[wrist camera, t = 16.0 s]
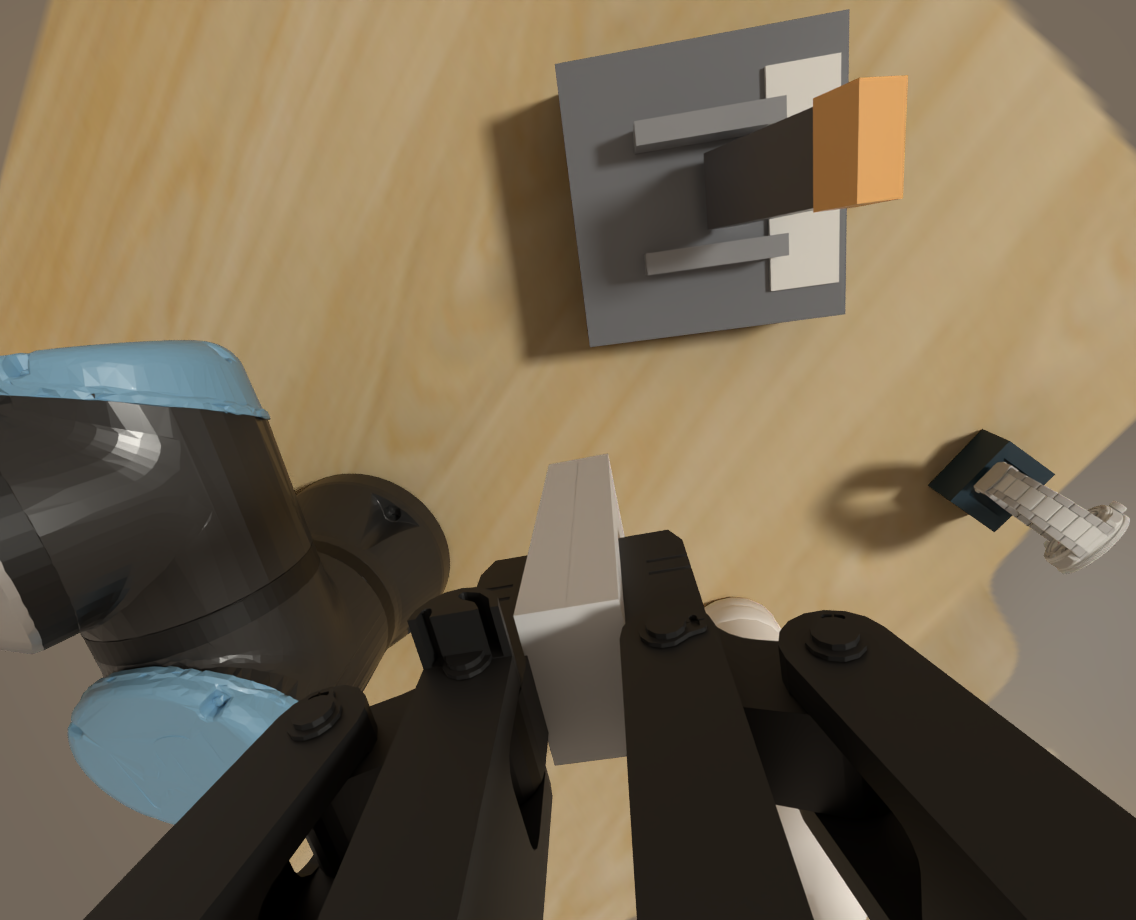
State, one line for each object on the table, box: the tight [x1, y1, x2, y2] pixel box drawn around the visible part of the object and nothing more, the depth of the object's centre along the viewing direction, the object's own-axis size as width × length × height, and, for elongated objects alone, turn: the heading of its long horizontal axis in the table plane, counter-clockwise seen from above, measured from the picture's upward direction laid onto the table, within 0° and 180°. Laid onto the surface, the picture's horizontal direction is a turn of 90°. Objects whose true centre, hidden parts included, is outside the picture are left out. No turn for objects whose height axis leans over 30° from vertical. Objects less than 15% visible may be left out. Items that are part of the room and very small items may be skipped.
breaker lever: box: [703, 75, 908, 230], centre depth 28 cm, size 2×4×11 cm, turn 10°
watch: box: [928, 429, 1130, 574], centre depth 39 cm, size 6×8×11 cm
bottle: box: [704, 597, 867, 920], centre depth 36 cm, size 8×8×30 cm
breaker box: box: [555, 9, 849, 347], centre depth 35 cm, size 16×16×8 cm
